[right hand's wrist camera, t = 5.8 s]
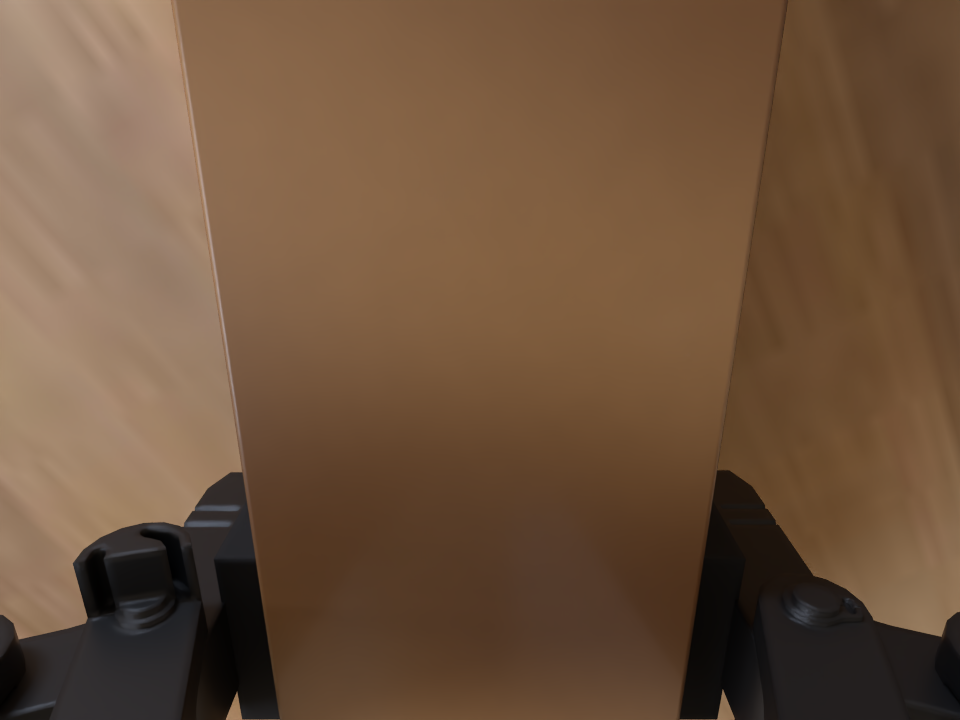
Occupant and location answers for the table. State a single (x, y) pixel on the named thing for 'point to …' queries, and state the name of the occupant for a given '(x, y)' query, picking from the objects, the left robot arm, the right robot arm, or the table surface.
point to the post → (479, 334)
